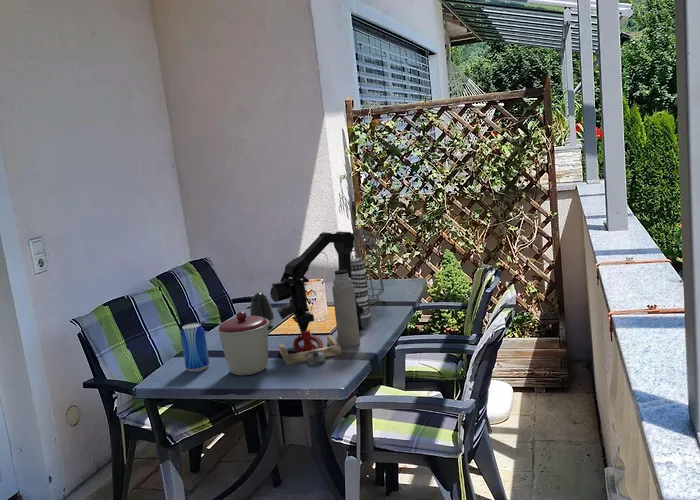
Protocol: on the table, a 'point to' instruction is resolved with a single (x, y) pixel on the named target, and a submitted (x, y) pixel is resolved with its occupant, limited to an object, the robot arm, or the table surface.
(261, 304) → the dark grey rounded cone
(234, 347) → the canister
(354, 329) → the thermos bottle
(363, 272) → the decorative candle
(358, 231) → the geometric lantern
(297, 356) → the carrier
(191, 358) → the beer can
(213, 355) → the table surface
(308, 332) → the red cog wheel
